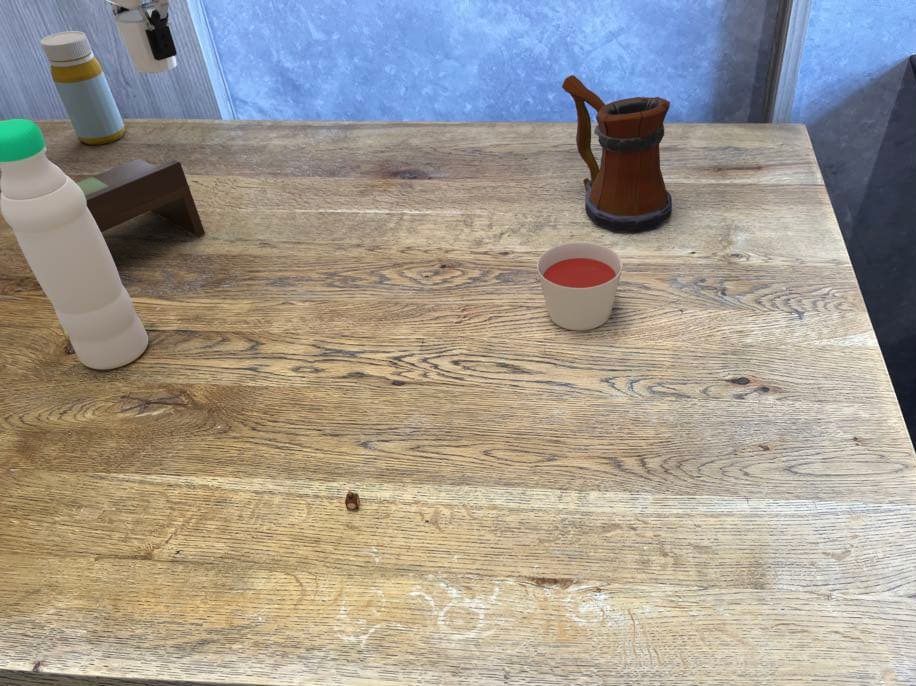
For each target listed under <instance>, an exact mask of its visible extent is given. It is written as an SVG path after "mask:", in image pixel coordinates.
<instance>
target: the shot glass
mask: <svg viewBox="0 0 916 686" xmlns="http://www.w3.org/2000/svg"><path fill="white" fill-rule="evenodd" d="M153 10H155V8H152V9H148V10H147V12H148V14H149V16H150V18H151V14H152V11H153ZM113 21H114V23H115V25H116V27H117V30H118V32H119V35H120V37H121V39H122V42H123V44H124V46H125V48H126V51H127V53H128V55H129V57H130V60H131V63H132V64H133V67H134V69H135V71H136V72H138V73H140V74H159V73H164V72H167V71H171V70H173V69H174V68H176V67H177V65H178V64H177V58H176V55H175V56H172V57H169V58H166V59H162V60H159V61H158V60H155V59H154V57H153V54H152V51H151V47H150V44H149V41H148V38H147V35H146V32H145V30H147V29H148V28H147V26H146V24H145V22H144V20H143V18H142V16H141V14H140V12H139V10H138V8H137V9H136V10H128V11H124V12H122V13H119V14H117V15H116V16H113Z"/></svg>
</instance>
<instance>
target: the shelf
mask: <svg viewBox="0 0 916 686" xmlns="http://www.w3.org/2000/svg"><path fill="white" fill-rule="evenodd" d="M75 183H76V184H77V185H78V186H79V187H80V188H81V190H82V191H83V193H84V195H85V198H86V202H87V208H88V209H89V211H90V213H91V214H92V216H93V218H94V220H95V222H96V224H97V226H98V227H99V230H100V232H101V233H104V232H106V231H108V230H110V229H112V228H115V227H117V226H119V225H121V224H124V223H127V222H129V221H131V220H133V219H136V218H138V217H140V216H142V215H144V214H147V213H149V212H152V213H154V214H155V215H157V216H158V217H161V218H162V219H164V220H166V221H167V222H169V223H171V224H173V225H174V226H177V227H178V228H180V229H182V230H183V231H185V232H187V233H189V234H191V235H192V236H194V237H195V238H200V237H202V236H204V235H206V232H205V228H204V227H203V223H202V220H201V218H200V217H201V216H200V215H199V211H198V209H197V206H196V203H195V201H194V197H193V194H192V191H191V188H190V185H189V182H188V180H187V178H186V175H185V172H184V168H183V166H182V163H181V161H179V160H177V159H172V160H170V161H167V162H165V163H163V164H160V165H157V166H153V165H152V164H149V163H148V162H145V161H143V160H142V159H140V158H137V159H134V160H131V161H129V162H126V163H124V164H121V165H118V166H116V167H114V168H111V169H108V170H105V171H104V172H101V173H98V174H96V175H93V176H91V177H88V178H85V179H83V180H81V181H78V182H75Z"/></svg>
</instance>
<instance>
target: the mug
mask: <svg viewBox="0 0 916 686" xmlns="http://www.w3.org/2000/svg"><path fill="white" fill-rule="evenodd" d="M561 88H562V89H563V91H565V92H566V93H568V95H570V96H571V98H572V99H573V101H574V106H575V109H576V120H577V124H576V125H577V126H576V127H577V128H576V137H575V142H576V147H577V152H578V153H579V156H580V158H581V159H582V160H583V161H584V163H585V164H586V166H587V167H588V169H589V174H590V179H589V178H587V177H585V178H584V179H583V180H582V181H583V185H584V188H585V190H586V192H585V199H584V200H585V201H584V211H585V213H586V215H587V216H588V217H589V218H590V219H591V220H592V221H594V222H595V224H598V226H601V227H602V228H605V229H608V230H609V231H611V232H613V233H641V232H645V231H650V230H654V229H657V228H659V227H660V226H661V225H662V224H663V223H665V221H667V220H668V219H669V218H670V217H671V214H672V210H673V198H672V195H671V193H670V192H669V191H668V190H667V188H666V183H665V181H664V176H663V172H662V170H661V154H660V153H661V152H660V143H661V142H662V140H663V138H664V136H665V125H664V121H665V119H666V116H667V114H668V112H669V110H670V107H671V102H670V101H669V100H667V99H665V98H663V97H660V96H654V97H645V96H637V97H636V96H635V97H630V98H622V99H619V100H618V99H617V100H614V101H611V102H609V103H605V102H604V101H603V100H602V99H601V97H600V96H599V95H597V94H596V93H595V92H593V91H592V90H591V89H589V88H587V87H586V85H584V83H583V82H582V81H581V80H580V79H579V78H578V77H577V76H576V75H573V74H570V75H568V76H567V77H565V78H564V81H563V83H562V85H561ZM586 104H587V105H589V106H590V107H591V108H593V109H594V110H595V111H596V113H597V114H596V116H595V119H596V122H597V125H595V127H594V131H593V133H594V135H596V136H597V137H598V140H597V141H598V144H599V145H600V147H601V157H600V165H598V162H597V160H596V158H595V156H594V154H593V151H592V147H591V145H592V119H591V116H590V113H589V109H588V107H587V106H586ZM599 166H600V167H599Z"/></svg>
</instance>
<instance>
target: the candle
mask: <svg viewBox="0 0 916 686" xmlns="http://www.w3.org/2000/svg"><path fill="white" fill-rule="evenodd" d="M536 262H537V263H536V271H537V275H538V279H539V282H540V287H541V290H542V295H543V299H544V303H545V307H546V310H547V314H548V317H549V318H550V319H551V321H552V322H553V323H554V324H555V325H557V326H559V327H561V328H563V329H567V330H571V331H589V330H593V329H596V328H598V327H600V326H602V325H604V324H605V323H606V322H608V320H609V318H610V317H611V314H612V311H613V307H614V303H615V299H616V295H617V291H618V287H619V284H620V279H621V275H622V270H623V260H622V258H621V256H620V255H619V254H618V252H616V251H615V250H613V249H612V248H610V247H608V246H605V245H603V244H599V243H595V242H589V241H573V242H572V241H571V242H565V243H561V244H558V245H555V246H552V247H551V248H548V249H547V250H545V251H544V252H543V253H542V254H540V256H539V258H538V259H537V261H536Z"/></svg>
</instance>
